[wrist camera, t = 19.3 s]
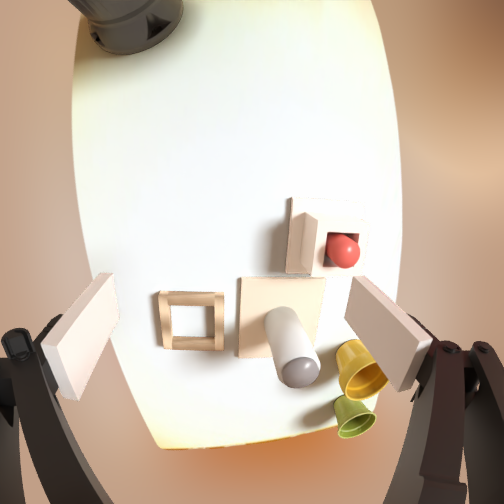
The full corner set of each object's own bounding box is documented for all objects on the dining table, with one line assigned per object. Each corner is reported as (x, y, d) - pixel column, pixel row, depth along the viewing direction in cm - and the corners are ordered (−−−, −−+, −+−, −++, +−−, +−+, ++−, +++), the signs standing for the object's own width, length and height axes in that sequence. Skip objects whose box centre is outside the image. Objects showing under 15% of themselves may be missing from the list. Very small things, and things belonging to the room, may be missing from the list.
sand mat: (241, 276, 46) (241, 278, 45) (324, 276, 47) (326, 278, 47) (238, 355, 51) (238, 358, 50) (310, 352, 52) (311, 354, 52)
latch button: (322, 230, 40) (335, 239, 36) (347, 231, 41) (362, 240, 36) (319, 256, 42) (331, 268, 37) (343, 256, 42) (357, 268, 37)
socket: (160, 290, 45) (157, 296, 43) (223, 292, 46) (224, 297, 44) (165, 342, 48) (164, 349, 46) (223, 344, 49) (223, 350, 47)
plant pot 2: (341, 385, 57) (355, 411, 49) (369, 389, 59) (384, 413, 51) (319, 411, 59) (329, 437, 51) (348, 414, 61) (359, 438, 53)
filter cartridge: (264, 307, 47) (281, 360, 34) (299, 305, 48) (326, 356, 34) (262, 336, 49) (277, 392, 36) (296, 334, 49) (318, 387, 36)
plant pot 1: (379, 348, 55) (400, 376, 45) (342, 377, 56) (358, 408, 47) (359, 321, 51) (382, 351, 42) (317, 354, 53) (334, 387, 44)
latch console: (291, 196, 42) (305, 204, 36) (361, 202, 44) (383, 210, 37) (285, 271, 46) (295, 290, 40) (351, 271, 48) (369, 288, 41)
